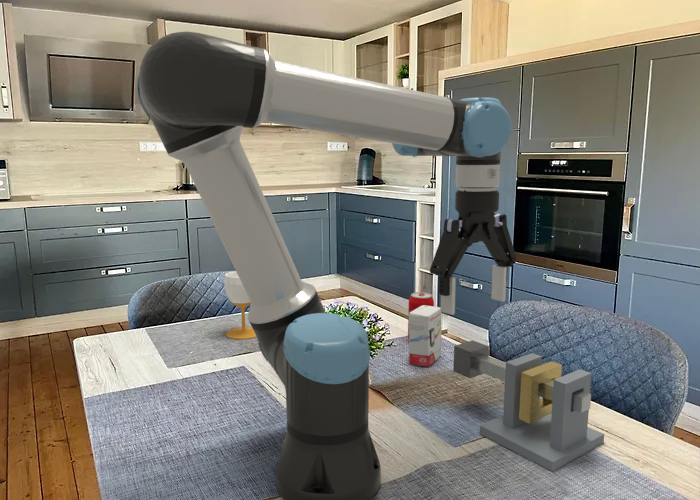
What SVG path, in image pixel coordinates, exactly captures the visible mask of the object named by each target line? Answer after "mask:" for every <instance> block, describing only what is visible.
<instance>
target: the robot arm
mask: <svg viewBox="0 0 700 500" xmlns="http://www.w3.org/2000/svg"><path fill="white" fill-rule="evenodd" d="M143 55H144V56H143V57H142V60H141V62H140V66H139V73H138V76H137V84H136V85H137V86H136V88H137V98H138V101H139V103H140V106H141V107H142V110H143V112H144V113H145V115H146V116H147V117H148V118H149V119H150V121H151V122H152V124H153V126H154V129H155V130H156V132H157V134H158V137H159V138H160V140H161V142H162V145H163V147H164V149H165V151H166V153H167V155H168V157H171V158H173V159H176V160H179V161H180V162H182V163H183V164H184V166H185V167H186V170H187V172H188V174H189V176H190V178H191V180H192V182H193V185H194V186H195V188H196V190H197V193H198V195H199V197H200V198H201V201H202V203H203V205H204V207H205V209H206V212H207V213H208V216H209V217H210V220H211V221H212V223H213V225H214V226H213V227H214V228H215V230H216V231H217V234H218V236H219V238H220V241H221V242H222V244H223V247H224V249H225V251H226V254H227V256H228V257H229V259H230V262H231V263H232V266H233V268H234V270H235V271H236V272H237V274H238V276H239V278H240V280H241V283H242V285H243V287H244V289H245V291H246V293H247V295H248V297H249V299H250V301H251V304H250V307H249V310H248V313H247V320H248V322H249V324H250V326H251V328H253V330H254V332H255V334H256V337H255V338H256V339H257V342H258V348H259V350H260V352H261V354H262V356H263V358H264V359H265V360H266V362H268V364H269V365H270V366H271V368H272V369H273V370H274V372H275V374H276V375H277V376H278V378H279V379H280V381H281V383H282V384H283V386H284V389H285V402H286V403H285V406H286V408H285V409H286V411H285V412H286V434H285V437H284V440H283V444H282V447H281V450H280V454H279V457H278V460H277V463H276V466H275V486H276V490H277V492H278V494H279V495H280V497H282V499H283V500H370V499H372V498H373V497H374V495H376V494H377V492H378V490H379V488H380V486H381V481H382V480H381V478H382V477H381V474H382V473H381V471H382V470H381V462H380V459H379V456H378V454H377V451H376V448H375V445H374V444H375V443H374V441H373V439H372V435H371V433H370V431H369V430H370V429H369V409H370V408H369V398H370V393H369V392H370V388H369V387H370V381H369V380H370V360H371V352H370V346H369V337H368V334H367V331H366V330H365V327H363V325H362V324H360V323H359V322H358V321H357V320H355V319H353V318H351V317H348V316H341V315H340V314H338V313H332V312H326V310H325V307H324V305H323V303H322V300H321V299H320V296H319V294H318V292H317V288H316V287H315V286H314V285H313V284H311V283H309V282H305V281H302V279H301V277H300V275H299V272H298V270H297V267H296V265H295V263H294V261H293V258H292V256H291V253H290V251H289V249H288V247H287V245H286V243H285V241H284V238H283V235H282V234H281V231H280V229H279V226H278V225H277V222H276V220H275V217H274V215H273V213H272V211H271V208H270V206H269V204H268V202H267V199H266V198H265V195H264V192H263V191H262V188H261V186H260V184H259V182H258V179H257V177H256V174H255V173H254V170H253V168H252V165H251V163H250V161H249V158H248V156H247V154H246V152H245V149H244V147H243V144H242V142H241V135H242V132H243V129H244V128H251V129H256V128H257V127H258V126H260V125H262V124H263V123H269V124H274V125H280V126H285V127H292V128H299V129H304V130H311V131H317V132H322V133H328V134H335V135H339V136H340V135H341V136H348V137H352V138H358V139H365V140H372V141H377V142H383V143H388V144H392V147H393V149H394V151H395V152H396V153H397V154H398V155H399V156H404V157H406V156H407V157H413V158H415V157H455V158H456V159H455V160H456V162H455V186H456V188H457V189H458V190H456V192H455V195H454V196H455V197H454V198H455V200H454V201H455V202H454V203H455V205H454V209H455V211H456V212H457V213H458V217H457V219H453V218H452V219H451V218H446V219H444V223H443V232H442V233H441V234H442V235H441V236H440V237H441V238H440V241H439V243H438V247H437V249H436V252H435V254H434V256H433V260H432V263H431V265H430V268H429V272H430V274H433V275H435V276H438V293H439V295H440V307H441V312H442V313H445V314H447V315H452V316H454V315H455V313H456V283H457V282H456V281H457V280H456V279H457V277H455V276H453V275H454V273H455V272H456V269H457V268H458V266H459V265H460V263H461V261H462V258H463V257H464V255H465V254H466V252H467V250H468V248H469V247H471V246H472V245H473V244H476V243H479V242H483V244H484V245H485V248H486V249H487V251H488V252H489V254H490V256H491V258H492V259H493V261H494V262H495V264H494V265H492V266H491V267H492V270H491V272H492V273H491V296H490V297H491V300H495V301H499V302H502V303H504V302H506V298H507V297H506V292H507V290H506V289H507V282H508V272H509V271H508V270H509V269H508V267H509V268H512V267H513V266H514V262H516V260H517V255H516V252H515V247H514V245H513V242H512V239H511V234H510V231H509V228H508V218H507V216H508V215H506V214H505V213H496V212H498V211H499V210H500V192H499V191H498V190H496V189H497V188H499V187H500V175H501V173H500V170H501V169H500V168H501V156H502V155H501V153H502V151H503V150H504V149H505V147H506V146H507V144H508V143H509V142H510V139H511V135H512V126H513V125H512V120H511V116H510V115H509V112H508V111H507V110H506V108H505V107H504V106H503V105H502V103H501V101H500V100H499V99H498V98H496V97H467V98H462V99H461V98H460V99H456V98H449V97H446V96H442V95H438V94H432V93H428V92H424V91H418V90H415V89H410V88H405V87H400V86H397V85H393V84H391V85H390V84H386V83H381V82H377V81H373V80H368V79H363V78H358V77H354V76H350V75H345V74H340V73H336V72H331V71H325V70H322V69H318V68H317V69H316V68H313V67H308V66H303V65H299V64H294V63H289V62H285V61H280V60H275V59H273V58H272V56H271V55H270V54H269V52H268V50H267V49H265V48H261V47H256V46H253V45H248V44H245V43H240V42H237V41H232V40H229V39H225V38H221V37H217V36H214V35H209V34H205V33H201V32H195V31H177V32H171V33H168V34H166V35H163V36H162V37H160V38H158V39H157V40H156V41H154V42H153V43H152V44H151V45H150V47H148V49H147V50H146V52H145V54H143Z"/></svg>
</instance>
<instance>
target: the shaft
mask: <svg viewBox="0 0 700 500" xmlns="http://www.w3.org/2000/svg"><path fill="white" fill-rule="evenodd" d="M506 362H507V361H502V360H500V359H498V358H495V357H493V356H490V346H489V345H487V344H484V343H481V342H478V341H476V340H469V341H466V342H463V343H459V344H456V345H455V344H454V345H453V373H456V374H459V375H461V376H463V377H465V378H468V379H472V378H474V377H475V378H476V377H478V376H480V375H486V376H489V377H492V378H494V379H496V380H498V381H499V380H500V381H501V382H503V383H505V370H506ZM553 384H554V380H552V379H550V380H548V381H546V382H543V383H541V384H538V396H540V397H541V398H542V399H543V398H546V399H548V400H551V401H552V400H553ZM591 400H592V393H591V392H590V393H587V392H584V391H582V390H577V391H575V392H573V393H572V401H571V409H573V410H575V411H578V412H580V413H582V412H584V411H586V410H588V409H589V410H590V409H591Z"/></svg>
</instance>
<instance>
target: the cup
mask: <svg viewBox="0 0 700 500" xmlns="http://www.w3.org/2000/svg"><path fill="white" fill-rule="evenodd" d="M223 281H224V283H223V284H224V290H225V294H226V296H227V298H228V299H229V301H230V303H232V305H234V306H236V307H239V308H240V310H241V327H237V328H234V329H230V330H228V331H227V332H226V337H227V338H230V339H233V340H248V339H253V338H257V337H256V334H255V332H254V330H253V328H252V326H251V327H250V326H249V327H248V326H247V327H246V315H245V313H246V311H245V309H246V308H247V307H249V306H251V305H252V303H251V301H250V299H249V297H248V295H247V293H246V291H245V289H244V287H243V285H242V283H241V280H240V278H239V276H238V274H237V272H236V270H235V271H229V272H226V273H225V274H224V279H223Z"/></svg>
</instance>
